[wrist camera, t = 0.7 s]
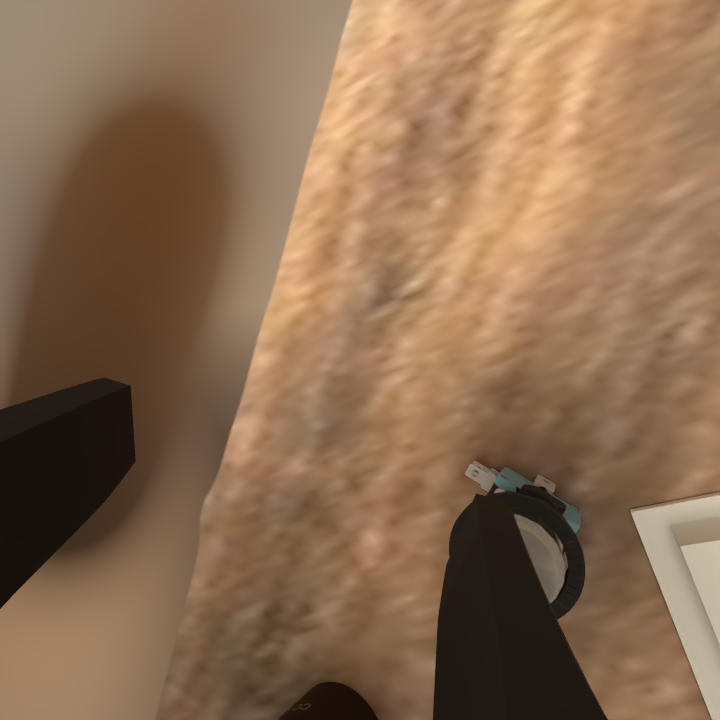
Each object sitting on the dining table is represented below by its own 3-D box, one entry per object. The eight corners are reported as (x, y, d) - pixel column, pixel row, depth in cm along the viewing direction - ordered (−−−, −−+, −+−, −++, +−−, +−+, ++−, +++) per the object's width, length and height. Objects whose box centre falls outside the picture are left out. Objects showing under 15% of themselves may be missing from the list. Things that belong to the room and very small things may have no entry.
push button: (453, 498, 30) (395, 559, 21) (494, 424, 29) (451, 456, 20) (555, 565, 27) (539, 669, 18) (604, 488, 26) (613, 557, 17)
